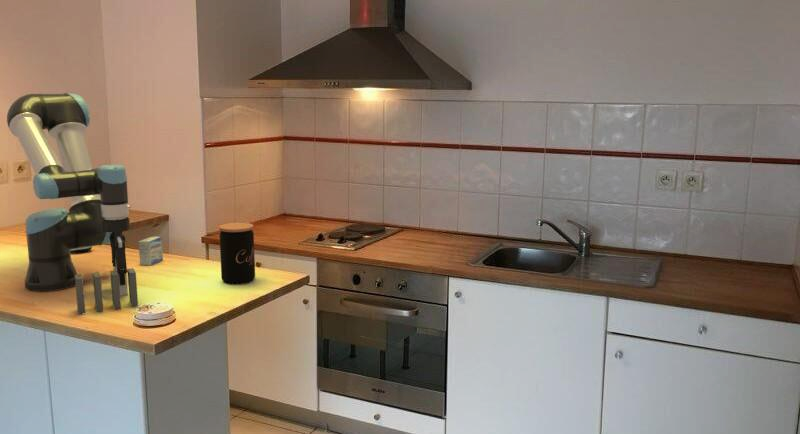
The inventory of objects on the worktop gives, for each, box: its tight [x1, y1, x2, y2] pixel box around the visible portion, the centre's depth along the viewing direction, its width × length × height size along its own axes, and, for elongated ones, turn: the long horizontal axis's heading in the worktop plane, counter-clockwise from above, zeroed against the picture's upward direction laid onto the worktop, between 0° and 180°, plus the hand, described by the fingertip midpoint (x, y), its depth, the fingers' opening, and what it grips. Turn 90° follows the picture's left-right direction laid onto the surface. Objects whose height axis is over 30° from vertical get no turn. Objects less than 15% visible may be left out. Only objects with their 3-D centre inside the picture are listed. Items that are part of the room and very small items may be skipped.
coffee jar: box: [219, 222, 256, 286], centre depth 223 cm, size 11×11×18 cm
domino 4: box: [127, 267, 139, 308], centre depth 199 cm, size 2×5×10 cm, turn 29°
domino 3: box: [109, 269, 122, 310], centre depth 197 cm, size 2×5×10 cm, turn 29°
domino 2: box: [92, 271, 104, 313], centre depth 195 cm, size 2×5×10 cm, turn 28°
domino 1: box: [74, 273, 86, 315], centre depth 193 cm, size 2×5×10 cm, turn 28°
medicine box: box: [137, 236, 164, 266], centre depth 245 cm, size 8×4×9 cm, turn 168°
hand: (121, 291), depth 211 cm, fingers open, 7 cm apart
